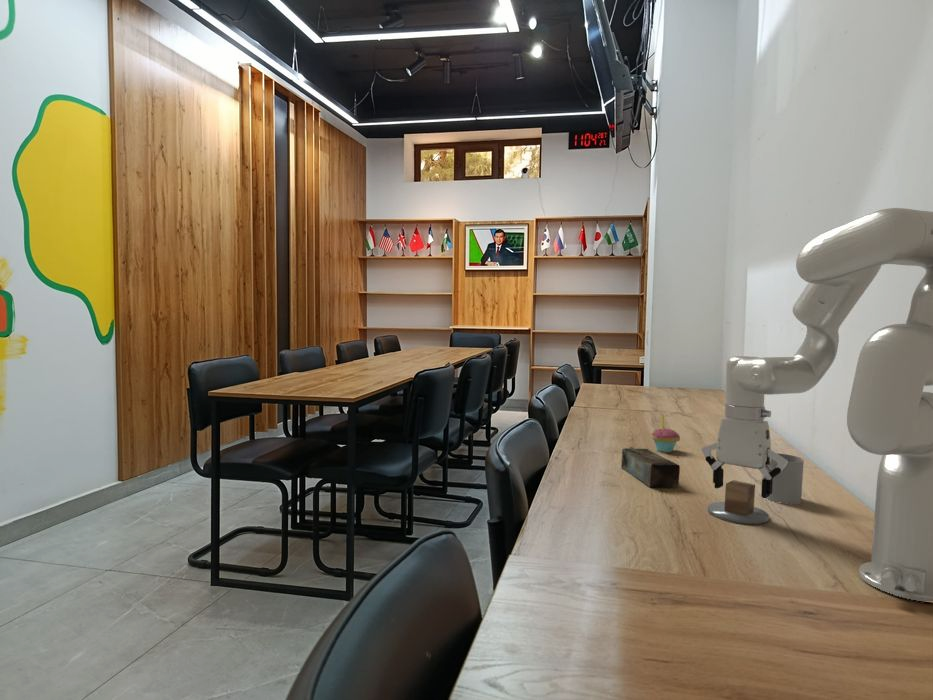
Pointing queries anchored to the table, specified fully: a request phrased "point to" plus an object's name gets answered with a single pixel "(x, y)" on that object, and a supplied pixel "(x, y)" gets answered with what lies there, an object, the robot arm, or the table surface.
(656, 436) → the cupcake
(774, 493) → the cup
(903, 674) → the table surface
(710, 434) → the table surface
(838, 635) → the table surface
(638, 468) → the dark grey rectangular box
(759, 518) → the coaster
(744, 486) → the block
